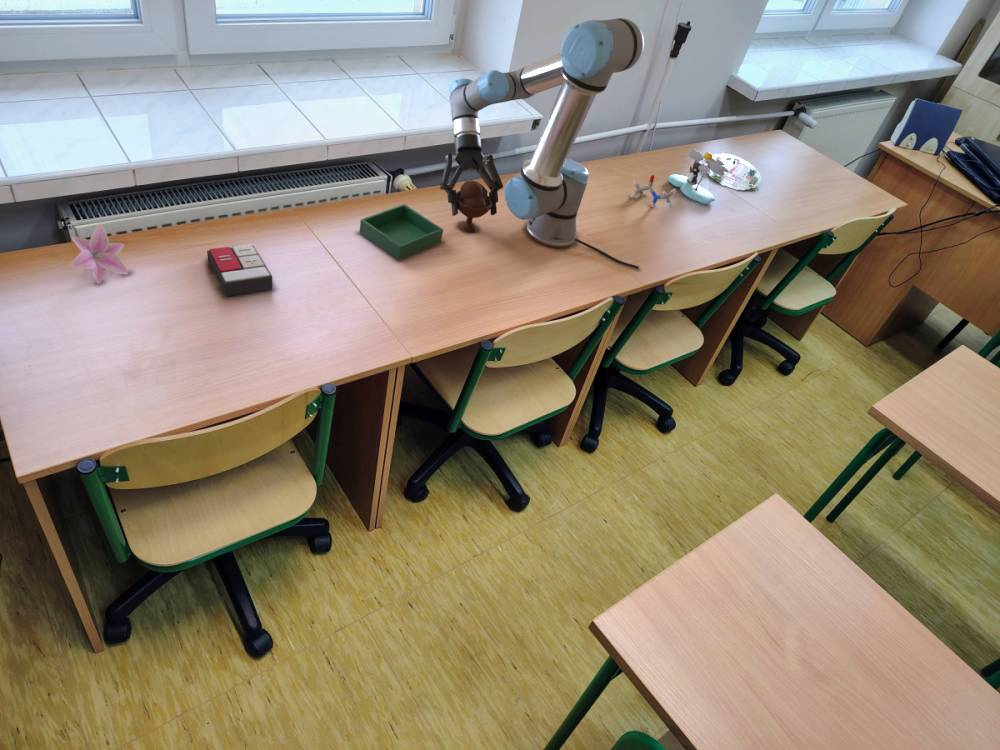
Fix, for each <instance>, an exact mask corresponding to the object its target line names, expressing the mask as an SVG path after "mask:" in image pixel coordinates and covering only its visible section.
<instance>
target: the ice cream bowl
mask: <svg viewBox="0 0 1000 750" xmlns="http://www.w3.org/2000/svg"><path fill="white" fill-rule="evenodd" d="M488 194H489V192H488V190H487V188H486V187H485V186H484V185H482V184H481V183H480V182H478V181H476V180H467V181H465V182H463V184H462V185H461V187H460V189H459V190H458V191H456V197H457V207H458V212H459V213H461V214H462V215H463V216H465V217H466V220H463V221H461V222H460V223H459V224H458V228H459V230H461V231H462V232H464V233H468V234H472V233H476V232H477V231H478V228H477V224H475V223H474V222H473V219H476V218H477V219H478V218H482V217H483V216H484V215H486V214H487V213H489V211H490V209H491V207H492V205H493V204H492V199H491V198H490V197H489V195H488Z"/></svg>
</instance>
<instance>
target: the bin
mask: <svg viewBox="0 0 1000 750" xmlns="http://www.w3.org/2000/svg"><path fill="white" fill-rule="evenodd" d="M443 234H444V229H443V228H442V227H440V226H439V225H438V224H436V223H434V222H433V221H431V220H430V219H428V218H427V217H425V216H423V214H421V213H419V212H418V211H416V210H415V209H413V208H411V207H410V206H409V205H407V204H406V203H403V204H400V205H398V206H395V207H392V208H389V209H386V210H383V211H381V212H377V213H375V214H373V215H369V216H367V217H364V218H361V219H360V224H359V235H361V236H363V237H364V238H365V239H367V240H368V241H369V242H371V243H373V244H374V245H375V246H377V247H378V248H379V249H381V250H383V251H384V252H386V253H387V254H388V255H390V256H391V257H392V258H394V259H395V260H397V261H401V260H403V259H407V258H408V257H411V256H413V255H415V254H418V253H420V252H422V251H424V250H427V249H429V248H433V247H434V246H436V245H438V244H441V243H442V239H443Z"/></svg>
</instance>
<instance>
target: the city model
mask: <svg viewBox="0 0 1000 750" xmlns="http://www.w3.org/2000/svg"><path fill="white" fill-rule="evenodd" d="M712 158H714V159H720V160H721V161H722V162H723V163H724V166H725V167H726V168H727V169H728V172H724V171H723V172H724V175H723V176H720V175H719V174H717V173H716V172H713V171H712V170H711V169H710V168H709V165H708V164H706V163H705V162H704V163H703V164H704V165H705V166H706V165H707V167H708V168H709V169H710V171H709V172H708V173H707V174H708V175H709V177H710V179H712V180H714V181H716V182H717V183H718V184H720V185H721V186H725V187H727V188H730V189H733V190H736V191H739V190H740V191H746V190H750V189H751V188H752V189H755V188H757V186H758V185H759V184H760V182H761V181H762V180H763V178H762V175H761V173H760V172H759V171H758V169H757V167H755V166H754V165H752V163H750V162H749V161H748V160H745V159H743V158H742V157H738V156H737V155H735V154H730V153H724V152H722V153H715V154H714V153H713V154H712ZM725 175H726V176H728V177H730V178H732V179H734V180H732V179H729V178H726V177H724V176H725ZM735 179H737V180H739V181H741V182H739V181H735ZM742 182H745V183H749V184H753V185H757V186H756V187H755V186H752V185H749V184H745V183H742ZM752 189H751V190H752Z"/></svg>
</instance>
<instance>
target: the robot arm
mask: <svg viewBox="0 0 1000 750" xmlns="http://www.w3.org/2000/svg"><path fill="white" fill-rule="evenodd" d="M644 39H645V38H644V35H643V32H642V30H641V28H640V26H638V25H637V24H636V23H635V22H634V21H633V20H630V19H628V18H621V17H619V18H612V19H600V20H598V19H589V20H586V21H583V22H580V23H578V24H575V25H574V26H572V27H571V28H570V29H569V30H568V31H567V32H566V34H565V36H564V38H563V40H562V42H561V46H560V51H559V52H560V53H557V54H555V55H552V56H550V57H547V58H545V59H542V60H540V61H537V62H535V63H532V64H530V65H527V66H524V67H521V68H520V69H517V70H513V71H508V72H501V71H500V70H497V69H492V70H490V71H488V72H485V73H483V74H482V75H480V77H478V78H476V79H475V80H472V79H470V78H459V79H455V80H453V81H452V82H451V83H450V84H449V103H450V111H451V113H450V114H451V120H452V131H453V132H452V133H453V137H454V140H453V143H454V151H455V152H454V153H455V154H452V153H448V154H447V155H445V157H444V162H445V165H444V169H443V172H442V173H443V174H442V177H441V182H440V185H439V189H440V190H442V191H445V193H446V196H447V202H448V204H450V205H451V215H452V216H457V215H458V214H459V210H458V207H457V197H456V192H457V190H456V189H454V188H455V186H456V184H457V182H458V180H459V179H460V176H461V174H462V173H463V172H469V171H471V172H475V173H476V174H478V175H479V176H480V177H481V179H482V181H483V182H484V184H485V185H486V186H487V188H488V189H489V192H488V196H489V197H490V198H491V199H492V204H493V205H492V207H491V209H490V210H489V211H490V216H495V215H496V214H497V213H498V212H497V211H498V210H497V203H498V202H499V194H498V192H499V191H500V190H502V189H504V201H505V202H506V206H507V208H508V209H509V211H510V212H511V213H512V214H513V216H514V217H516V218H518V219H519V220H523V221H527V224H526V228H525V231H526V233H527V235H528V236H529V237H530V238H531V239H532V240H534V241H535V242H537V243H538V244H541V245H542V246H545V247H549V248H554V249H555V248H556V249H565V248H568V247H571V246H572V245H574V244H575V242H577V243H578V244H581V245H582V246H585V247H587V248H589V249H591V250H593V251H595V252H596V253H599V254H601V255H603V256H605V257H607V258H608V259H610V260H611V261H614V262H616V263H618V264H620V265H624V266H626V267H630V268H634V269H637V270H638V269H639V268H640V266H639V265H636V264H632V263H629V262H626V261H622V260H620V259H617V258H615V257H613V256H612V255H610V254H608V253H606V252H605V251H603V250H601V249H599V248H598V247H595V246H593V245H591V244H589V243H587V242H585V241H582V240H580V239H578V238H577V233H578V231H577V216H578V212H579V209H580V206H581V203H582V200H583V198H584V194H585V190H586V189H587V188H586V187H587V186H588V180H589V176H590V174H589V171H588V169H587V168H586V166H584V165H583V164H581V163H580V162H579V161H576V160H573V159H571V158H569V155H570V153H571V151H572V148H573V146H574V144H575V142H576V140H577V138H578V136H579V133H580V132H581V129H582V127H583V124H584V122H585V120H586V118H587V116H588V114H589V111H590V109H591V107H592V105H593V102H594V100H595V98H596V96H597V95H598V94H601V93H604V92H605V91H606V89H607V87H608V85H609V83H610V81H611V78H612V76H613V75H614V74H615V73H621V72H624V71H627V70H630V69H631V68H633V67H634V66H635V65H636V64H637V63H638V62H639V61H640V59H641V57H642V55H643V53H644V48H645V40H644ZM559 86H560V88H559V91H558V93H557V96H556V98H555V100H554V102H553V105H552V108H551V110H550V112H549V115H548V118H547V120H546V122H545V125H544V127H543V129H542V132H541V135H540V136H539V139H538V141H537V144H536V146H535V149H534V151H533V154H532V156H531V158H529V159H526V160H525V161H524V162H523V163H522V165H521V168H520V170H519V173H518V175H517V176H514V177H512V178H511V179H509V180H507V183H506V184H505V186H504V184H503V182H502V179H501V177H500V174H499V172H498V170H497V167H496V164H495V163H494V156H493V154H489V155H484V154H483V152H482V140H481V139H482V138H481V136H480V135H481V128H480V119H479V111H481V110H483V109H485V108H487V107H489V106H491V105H496V104H501V103H507V102H511V101H517V100H526V99H529V98H533V97H534V96H535V95H537V94H538V93H542V92H544V91H548V90H550V89H553V88H556V87H559ZM454 162H456V163H457V164H458V166H457V167H456V170H455V172H454V174H453V176H452V177H451V179H450V174H451V170H452V166H453V163H454ZM483 162H484V164H485V165H486V168H487V170H486V168H485V166H484V164H483ZM449 179H450V181H449Z"/></svg>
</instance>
